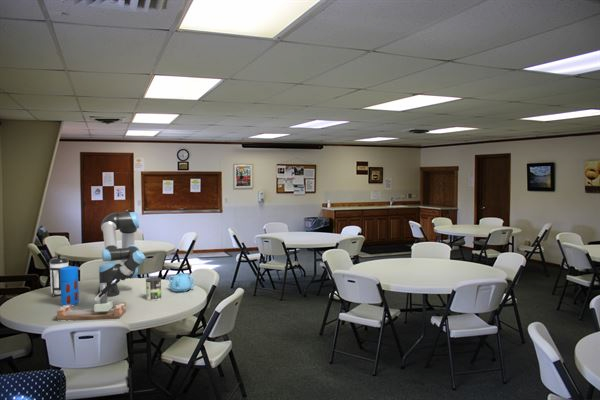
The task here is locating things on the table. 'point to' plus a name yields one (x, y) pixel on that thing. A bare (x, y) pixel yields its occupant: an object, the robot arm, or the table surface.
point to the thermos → (69, 285)
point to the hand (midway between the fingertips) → (97, 299)
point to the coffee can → (153, 289)
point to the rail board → (92, 316)
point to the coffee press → (56, 273)
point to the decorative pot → (181, 282)
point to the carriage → (103, 301)
